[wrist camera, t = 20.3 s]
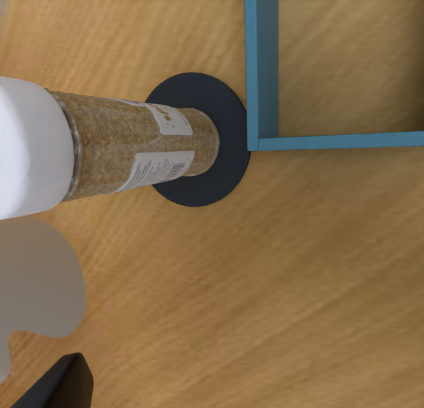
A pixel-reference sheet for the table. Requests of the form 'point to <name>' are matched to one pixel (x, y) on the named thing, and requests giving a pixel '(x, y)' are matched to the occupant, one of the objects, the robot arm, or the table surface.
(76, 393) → the robot arm
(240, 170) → the coaster
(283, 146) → the blue open rectangular frame
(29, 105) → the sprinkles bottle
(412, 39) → the table surface
